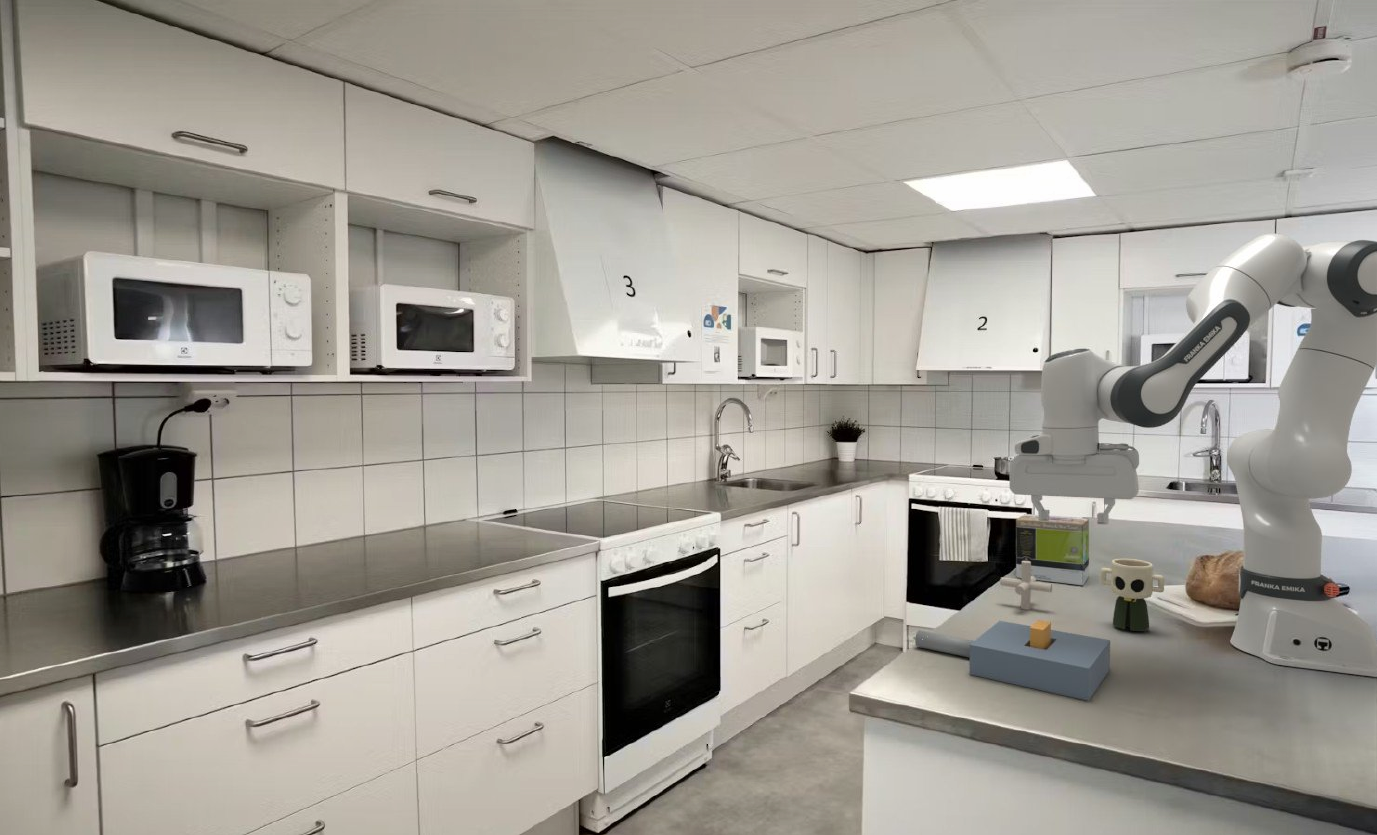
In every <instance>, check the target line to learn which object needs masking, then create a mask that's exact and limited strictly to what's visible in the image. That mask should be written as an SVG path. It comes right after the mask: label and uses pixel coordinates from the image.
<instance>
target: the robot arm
mask: <svg viewBox="0 0 1377 835" xmlns="http://www.w3.org/2000/svg"><path fill="white" fill-rule="evenodd" d="M1195 284H1196V285H1195V286H1194V287H1193V288H1192V289H1191V291H1190V292H1189V294H1188V295H1187V296H1186V300H1185V307H1186V313H1187V316H1188V318H1189V320H1191V322H1192V323H1193V325H1192V326H1191V327H1190V328H1189V329H1188V330H1187V332H1186V333H1184V334H1183V336H1182V337H1180V339H1179V340H1177V341H1176V343H1174V344H1173V345H1172V346H1171V347H1170V348H1169V350H1167V352H1165V354H1163V356H1161V357H1160V358H1158V359H1156V360H1154V361H1152V362H1149V363H1145V364H1142V365H1133V366H1132V365H1130V366H1129V365H1126V366H1125V365H1122V364H1120V363H1118V362H1113V361H1111V360H1108V359H1106V358H1103V357H1102V356H1099V355H1098V354H1095V353H1094V352H1093V351H1092V350H1091V349H1089V348H1076V349H1071V350H1069V349H1068V350H1066V351H1065V350H1064V351H1061V352H1057V353H1054V354H1051V355H1050V356H1048V357H1047V359H1046V360H1045V361H1044V362H1043V366H1042V372H1041V382H1040V383H1041V384H1040V386H1041V387H1040V396H1041V397H1040V400H1041V401H1040V402H1041V405H1042V409H1043V420H1042V424H1041V426H1042V428H1041V429H1042V430H1041V431H1042V432H1041V434H1037V435H1032V436H1031V437H1029V438H1025V439H1022V440H1019V441H1018V442H1016V443H1015V444H1014V453H1015V454H1016V456H1015V457H1013V459H1012V460H1011V463H1010V470H1009V490H1010V491H1011V493H1012V494H1013V495H1019V496H1020V495H1021V496H1030V501H1031V503H1032V505H1033V507H1034V508H1035V509H1036V511H1037V512H1038V514H1037V515H1039V521H1048V520H1049V519H1050V516H1051V514H1050V509H1045V507H1044V506H1043V504H1042V503H1041V501H1042V500H1043V497H1062V498H1063V497H1064V498H1065V497H1067V498H1086V499H1087V498H1088V499H1089V498H1093V499H1095V498H1096V499H1103V504H1104V505H1106V508H1105V510H1103V512H1098V513H1096V514H1097V515H1096V517H1097V518H1096V519H1097V520H1096V521H1097V522H1096V523H1097V525H1109V522H1110V520H1109V519H1110V518H1109V514H1110V513H1111V511H1112V509H1113V508H1114V506H1115V505H1116V500H1133V499H1134V498H1135V497H1137V496H1138V495H1139V492H1140V491H1139V490H1140V489H1139V486H1140V485H1139V478H1138V473H1137V469H1138V467H1139V464H1140V454H1139V451H1138V450H1137V449H1136V448H1135V447H1133V446H1131V445H1129V443H1124V442H1123V443H1110V442H1109V443H1103V442H1102V443H1100V437H1099V436H1100V434H1099V433H1100V432H1099V422H1100V420H1101V419H1104V420H1107V421H1111V422H1118V423H1125V424H1130V425H1133V426H1136V427H1139V428H1140V427H1141V428H1146V429H1152V428H1159V427H1162V426H1165V425H1166V424H1168V423H1170V422H1171V421H1173V420H1175V419H1176V417H1178V415H1179V414H1180V413H1181V411H1182V409H1183V407H1185V406H1184V405H1185V404H1186V402H1187V399H1188V397H1189V395H1190V394H1191V391H1192V390H1193V388H1194V387H1195V386H1196V384H1198V382H1199V381H1200V380H1201V379H1202V378H1203V377H1204V376H1205V375H1206V374H1207V373H1208V372H1209V371H1210V370H1211V369H1212V368H1213V367H1214V366H1215V365H1216V364H1217V363H1218V362H1219V361H1220V360H1221V358H1223V357H1224V356H1225V355H1226V353H1228V352H1229V350H1230V349H1231V348H1233V347H1234V346H1235V344H1236V343H1237V342H1238V341H1239V340H1240V339H1241V337H1243V335H1244V333H1246V331H1247V330H1249V328H1250V327H1251V326H1253V325H1254V324H1255V323H1256V322H1257V321H1259V319H1261V318H1262V317H1263V316H1264V315H1266V314H1267V313H1268V312H1269V311H1270V310H1271V309H1272V308H1273V307H1275V306H1276V305H1280V306H1284V307H1289V308H1297V307H1300V308H1307V309H1308V308H1309V309H1310V314H1311V315H1310V316H1311V321H1310V325H1309V328H1308V329H1307V331H1306V333H1305V335H1304V336H1303V338H1302V340H1301V341H1300V343H1299V345H1298V346H1297V350H1296V351H1295V352H1294V356H1293V358H1292V359H1291V362H1290V364H1289V366H1288V368H1287V370H1286V372H1285V374H1284V377H1283V379H1282V380H1281V383H1280V385H1279V386H1278V390H1277V396H1278V399H1279V409H1278V414H1277V421H1276V425H1275V427H1274V429H1257V430H1253V431H1249V432H1247V433H1243V434H1241V435H1239V436H1238V437H1236V438H1235V439H1234V440H1233V441H1232V442H1231V444H1230V445H1229V446H1228V449H1227V451H1226V462H1227V465H1228V468H1229V469H1230V471H1231V473H1232V475H1233V478H1234V481H1235V482H1234V483H1235V486H1236V491H1237V496H1238V500H1239V506H1240V510H1241V515H1242V516H1241V517H1242V522H1243V523H1242V524H1243V554H1242V556H1243V559H1242V565H1241V567H1240V568H1239V571H1240V572H1239V573H1238V574H1239V575H1238V594H1239V597H1240V604H1239V610H1238V615H1237V619H1236V623H1235V627H1234V631H1233V633H1232V636H1231V638H1230V640H1229V641H1230V644H1231V645H1232V646H1233V647H1235V648H1236V649H1237V650H1241V651H1242V652H1245V653H1248V654H1251V655H1253V656H1256V657H1259V658H1261V659H1263V660H1264V661H1266V662H1269V663H1271V664H1273V665H1281V666H1287V667H1294V668H1303V669H1311V670H1319V671H1327V672H1333V673H1334V672H1335V673H1342V674H1348V675H1349V674H1350V675H1358V676H1367V677H1372V678H1373V677H1374V678H1377V639H1376V635H1375V632H1374V631H1373V629H1372V627H1371V626H1370V625H1369V623H1368V622H1367V621H1365V620H1364V619H1363V618H1362V617H1360V616H1359V615H1357V614H1356V613H1355V612H1353V611H1352V610H1350V608H1348V607H1347V606H1345V605H1344V604H1342V603H1341V602H1340V601H1338V600H1337V599H1336V598H1335V597H1337V595H1338V596H1339V595H1340V588H1339V585H1337V584H1336V582H1335V581H1334V580H1333V579H1332V578H1331V577H1329V578H1328V577H1327V576H1326V575H1323V574H1321V572H1322V541H1323V535H1322V529H1321V527H1320V525H1319V523H1318V521H1317V520H1316V518H1315V515H1314V513H1313V510H1312V506H1311V504H1310V500H1311V499H1314V500H1315V499H1322V498H1327V497H1328V498H1329V497H1331V496H1333V495H1336V494H1338V493H1340V492H1341V491H1342V490H1343V489H1344V488H1345V487H1346V486H1347V484H1348V483H1349V482H1350V479H1351V477H1352V472H1353V470H1352V467H1353V466H1352V462H1351V459H1350V456H1349V454H1348V443H1349V436H1350V435H1349V434H1350V431H1351V430H1350V429H1351V425H1352V420H1353V416H1354V413H1355V411H1356V408H1357V405H1358V403H1359V402H1360V399H1361V397H1362V395H1363V393H1364V391H1365V389H1366V386H1367V385H1368V383H1369V381H1370V378H1371V377H1372V374H1373V373H1374V370H1375V369H1376V366H1377V241H1375V240H1367V239H1359V240H1355V241H1352V240H1350V241H1349V240H1345V241H1344V240H1343V241H1342V240H1335V241H1323V242H1320V243H1315V244H1308V245H1304V246H1301V244H1299V242H1297V241H1296V240H1295V239H1293V238H1291V237H1289V236H1287V235H1285V234H1280V233H1266V234H1265V233H1264V234H1261V235H1260V236H1257V237H1255V238H1254V239H1252V240H1250V241H1248V242H1247V243H1245V244H1244V245H1242V246H1241V247H1239V248H1238V249H1236V250H1234V251H1233V252H1232V253H1230V254H1229V255H1227V257H1225V258H1224V259H1222V260H1221V261H1220V262H1219V263H1218V264H1216V265H1215V266H1214V267H1213V268H1212V269H1211V270H1210V271H1208V272H1207V273H1206V274H1205V275H1204V276H1203V277H1202V278H1200V280H1199V281H1198V282H1197V283H1195Z"/></svg>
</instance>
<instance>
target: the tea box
mask: <svg viewBox="0 0 1377 835" xmlns="http://www.w3.org/2000/svg"><path fill="white" fill-rule="evenodd" d="M1049 516H1050V519H1049V520H1048V521H1039V515H1038V514H1033V513H1032V514H1031V513H1024V514H1023V515H1021V516H1020V517H1017V519H1015V568H1016V569H1015V571H1016V573H1015V574H1016V579H1021V569H1022V561H1030V562H1031V576H1033V577H1035V578H1036V581H1042V582H1052V583H1060V584H1068V585H1076V586H1077V585H1078V586H1084V585H1085V583H1086V582H1087V581H1088V579H1089V576H1090V575H1089V574H1090V572H1089V571H1090V523H1089V522H1090V521H1089V518H1086V517H1073V516H1060V515H1049Z"/></svg>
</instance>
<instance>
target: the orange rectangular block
mask: <svg viewBox="0 0 1377 835" xmlns="http://www.w3.org/2000/svg"><path fill="white" fill-rule="evenodd" d="M1031 626H1032V627H1030V647H1033V648H1039V649H1044V650H1047V649H1048V648H1049V647H1050V646H1051V630H1052V622H1051V621H1044V620H1037V621H1035V623H1034V624H1032V625H1031Z"/></svg>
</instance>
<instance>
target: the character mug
mask: <svg viewBox="0 0 1377 835" xmlns="http://www.w3.org/2000/svg"><path fill="white" fill-rule="evenodd" d="M1107 574H1110V577H1111V578H1110V579H1107ZM1154 580H1155V581H1158V582H1157V584H1158V585H1157V586H1154V585H1153V584H1154V583H1153V581H1154ZM1100 583H1101V585H1106V586H1111V587H1110V589H1111V592H1112V594H1114V595H1117V598H1116V600H1115V605H1114V610H1113V611H1114V612H1113V618H1112V625H1113V626H1115V627H1116V628H1119V629H1122V630H1125V629H1126V626H1127V627H1129V630H1130V631H1134V632H1135V631H1136V632H1141V631H1142V632H1143V631H1147V630H1148V629H1150V619H1149V618H1150V617H1149V612H1148V604H1147V601H1146V600H1145V599H1149V598H1150V597H1152V595H1153V593H1164V591H1165V577H1164V575H1161V574H1154V565H1153V563H1151V562H1150V561H1146V560H1142V559H1136V558H1135V559H1134V558H1114V559H1112V560H1111V568H1108V567H1102V568H1101V569H1100Z"/></svg>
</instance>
